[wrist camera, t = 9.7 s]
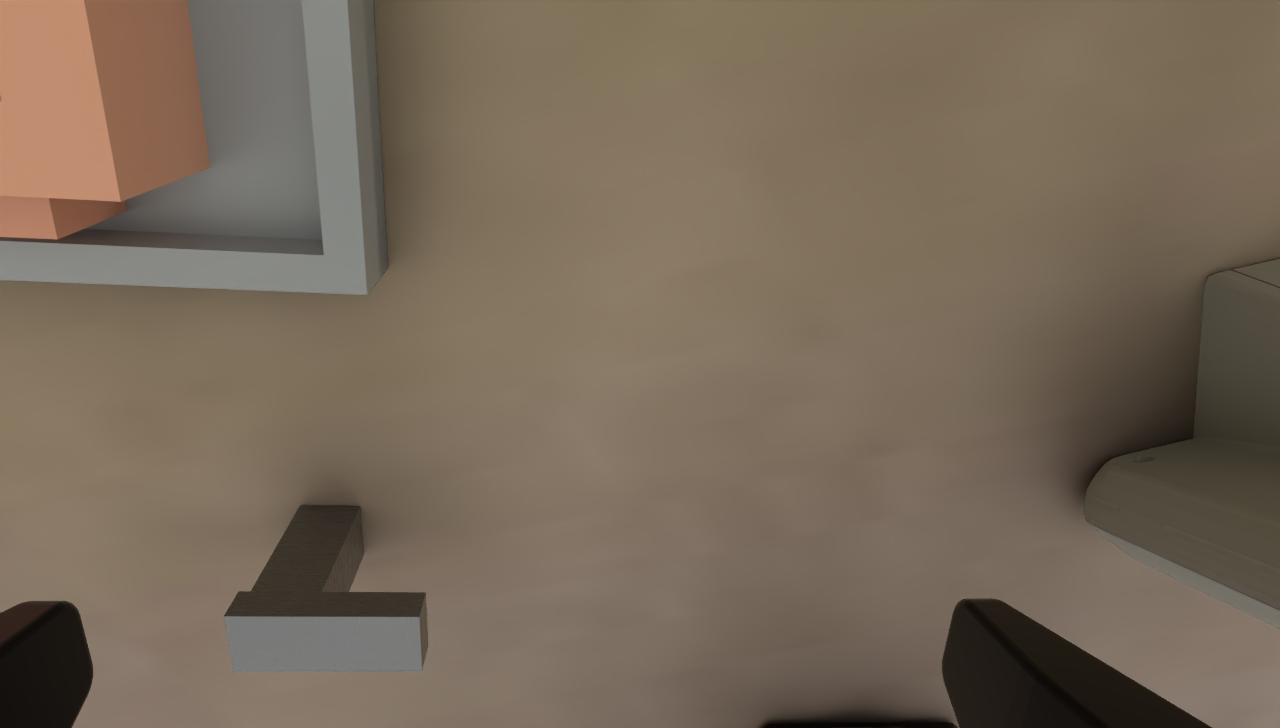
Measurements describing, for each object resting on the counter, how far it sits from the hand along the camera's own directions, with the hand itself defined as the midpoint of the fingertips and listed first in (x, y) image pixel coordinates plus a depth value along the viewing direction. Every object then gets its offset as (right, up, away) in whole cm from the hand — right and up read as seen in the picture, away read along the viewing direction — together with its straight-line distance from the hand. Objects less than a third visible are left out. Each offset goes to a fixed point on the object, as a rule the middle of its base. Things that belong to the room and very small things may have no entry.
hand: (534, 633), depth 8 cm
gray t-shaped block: (-6, -2, +13) cm, 14 cm away
